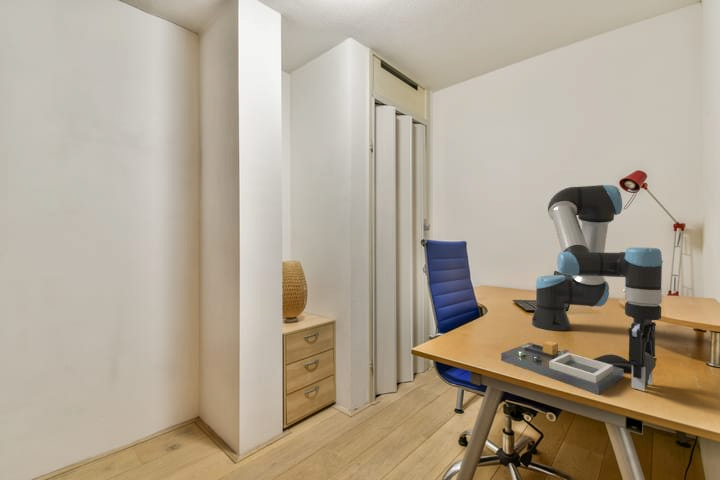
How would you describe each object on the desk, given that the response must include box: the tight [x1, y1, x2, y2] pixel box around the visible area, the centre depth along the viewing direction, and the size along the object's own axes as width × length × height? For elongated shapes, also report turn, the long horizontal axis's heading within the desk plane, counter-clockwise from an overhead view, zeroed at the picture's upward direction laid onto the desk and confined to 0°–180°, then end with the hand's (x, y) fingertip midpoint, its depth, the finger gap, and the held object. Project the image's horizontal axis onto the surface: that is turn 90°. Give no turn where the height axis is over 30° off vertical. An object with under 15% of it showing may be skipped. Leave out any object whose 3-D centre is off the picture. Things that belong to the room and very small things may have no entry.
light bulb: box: [631, 352, 657, 388], centre depth 88 cm, size 6×6×10 cm
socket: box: [549, 352, 613, 383], centre depth 94 cm, size 12×12×2 cm
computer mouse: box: [591, 353, 632, 374], centre depth 101 cm, size 7×12×4 cm, turn 81°
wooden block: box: [542, 340, 559, 355], centre depth 106 cm, size 4×3×4 cm
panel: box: [500, 342, 625, 396], centre depth 101 cm, size 18×28×4 cm, turn 34°
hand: (642, 385), depth 88 cm, fingers closed on light bulb, 5 cm apart
